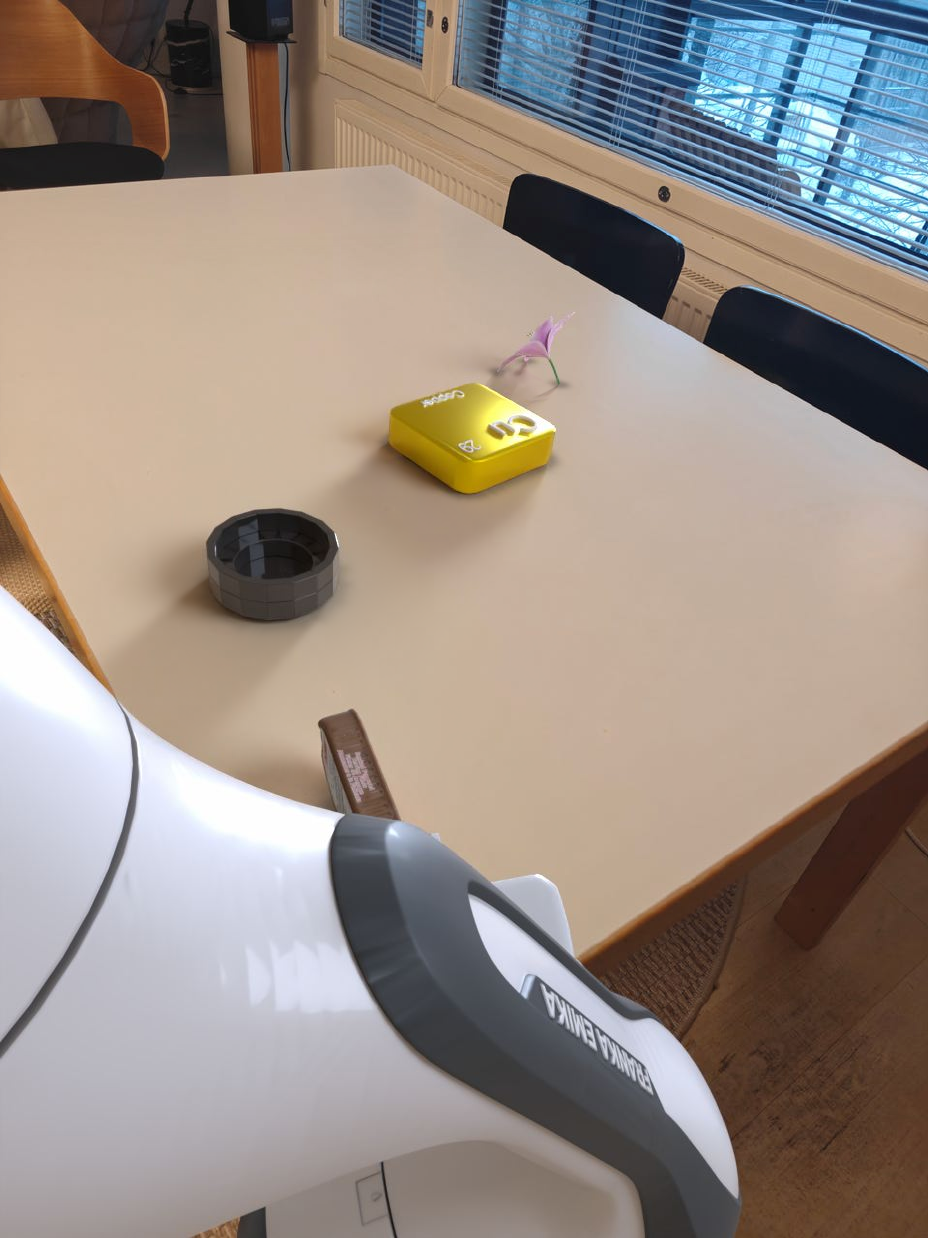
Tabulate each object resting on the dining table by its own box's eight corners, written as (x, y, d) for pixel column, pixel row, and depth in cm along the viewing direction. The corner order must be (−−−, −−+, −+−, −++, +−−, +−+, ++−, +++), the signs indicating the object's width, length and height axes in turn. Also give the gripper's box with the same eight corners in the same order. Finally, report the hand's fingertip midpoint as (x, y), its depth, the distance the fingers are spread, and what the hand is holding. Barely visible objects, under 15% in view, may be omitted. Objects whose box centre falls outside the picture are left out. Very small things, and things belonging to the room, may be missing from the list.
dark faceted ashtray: (214, 630, 75) (209, 589, 72) (208, 551, 83) (203, 512, 80) (346, 617, 78) (347, 578, 75) (328, 542, 86) (327, 504, 83)
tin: (419, 934, 55) (429, 859, 50) (372, 949, 54) (377, 874, 49) (353, 760, 66) (355, 682, 60) (313, 770, 64) (311, 691, 59)
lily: (567, 365, 127) (547, 301, 123) (609, 368, 116) (588, 298, 112) (498, 399, 124) (475, 335, 120) (534, 405, 114) (510, 335, 110)
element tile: (472, 410, 111) (476, 375, 108) (556, 461, 103) (564, 425, 100) (380, 441, 102) (382, 404, 99) (465, 499, 95) (470, 461, 92)
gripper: (621, 1002, 45) (536, 792, 55) (215, 1097, 39) (202, 845, 49) (596, 1054, 49) (522, 849, 59) (225, 1146, 44) (212, 904, 53)
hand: (373, 848), depth 54 cm, fingers open, 5 cm apart
